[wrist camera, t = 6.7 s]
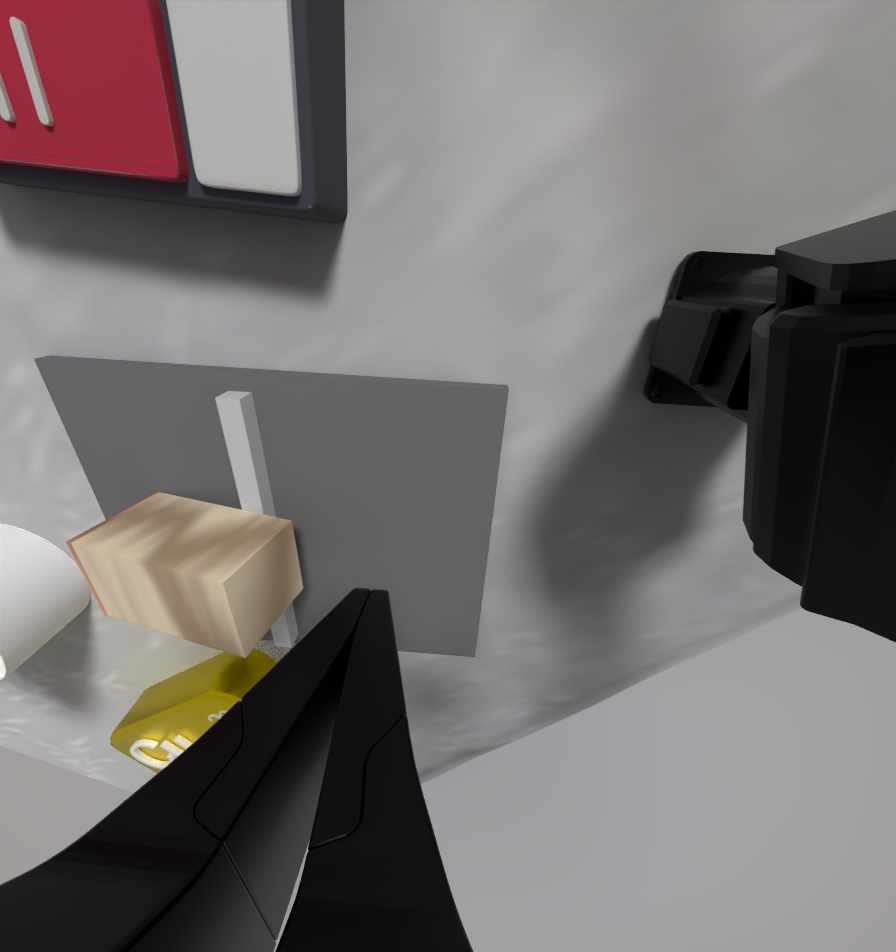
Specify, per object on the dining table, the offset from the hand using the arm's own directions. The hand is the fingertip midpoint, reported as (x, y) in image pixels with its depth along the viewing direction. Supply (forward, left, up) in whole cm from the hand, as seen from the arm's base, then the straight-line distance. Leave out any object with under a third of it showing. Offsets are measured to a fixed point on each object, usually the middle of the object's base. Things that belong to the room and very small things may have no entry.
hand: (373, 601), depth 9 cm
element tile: (+15, +30, -14) cm, 36 cm away
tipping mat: (+8, +8, -13) cm, 17 cm away
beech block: (+8, +8, -8) cm, 13 cm away
